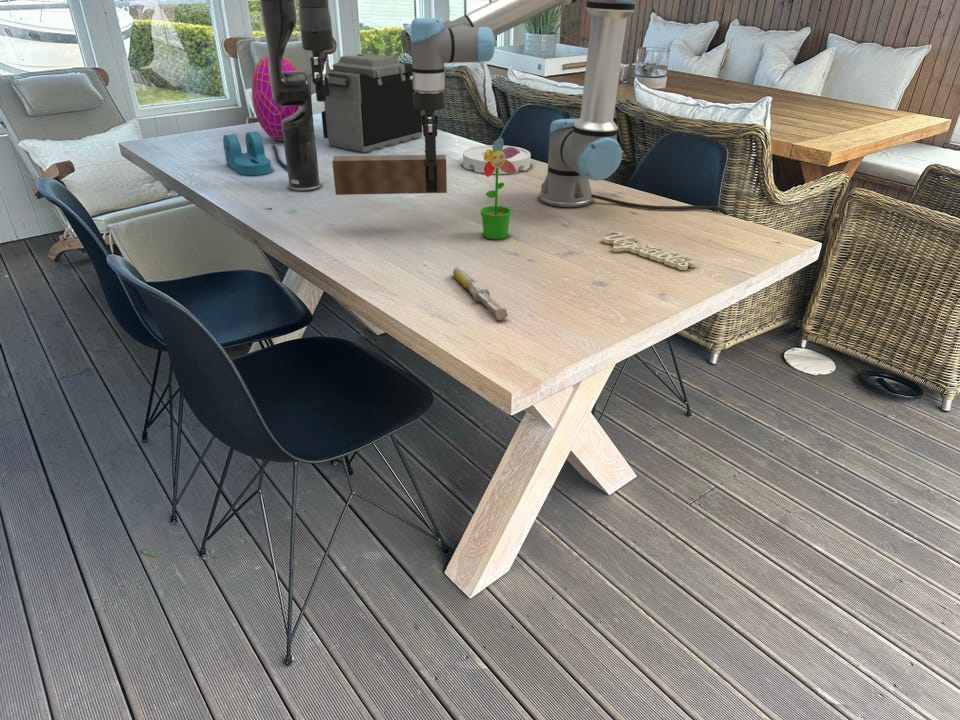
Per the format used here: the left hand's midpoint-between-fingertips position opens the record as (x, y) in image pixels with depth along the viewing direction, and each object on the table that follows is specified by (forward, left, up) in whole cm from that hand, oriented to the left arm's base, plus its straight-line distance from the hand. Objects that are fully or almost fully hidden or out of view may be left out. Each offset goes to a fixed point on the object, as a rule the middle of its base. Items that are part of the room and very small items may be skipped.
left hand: (323, 98), depth 175 cm
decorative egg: (-93, +11, -30) cm, 98 cm away
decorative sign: (+62, +57, -30) cm, 90 cm away
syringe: (+66, +9, -30) cm, 73 cm away
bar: (+20, +9, -20) cm, 30 cm away
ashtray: (-24, +66, -30) cm, 76 cm away
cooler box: (-75, +41, -30) cm, 91 cm away
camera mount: (-57, -10, -30) cm, 66 cm away
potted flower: (+35, +31, -30) cm, 56 cm away
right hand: (+24, +18, -19) cm, 36 cm away
